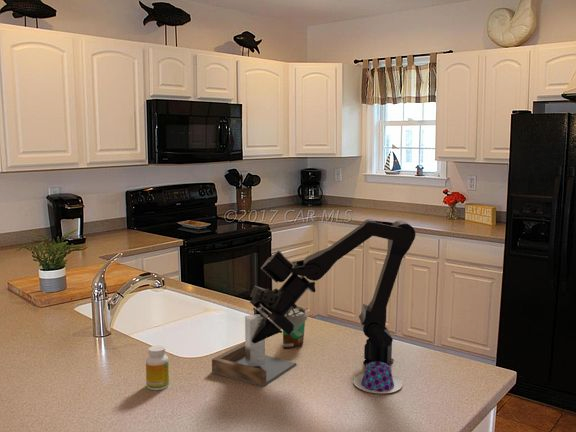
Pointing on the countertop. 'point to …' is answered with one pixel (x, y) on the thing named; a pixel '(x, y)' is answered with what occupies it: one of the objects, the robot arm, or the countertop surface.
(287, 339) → the food container
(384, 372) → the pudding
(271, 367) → the corner mat
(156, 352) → the supplement bottle
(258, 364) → the aluminium post
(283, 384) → the countertop surface
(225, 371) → the corner walls
